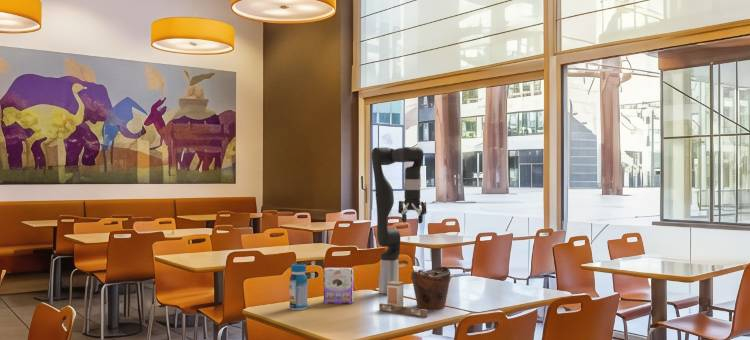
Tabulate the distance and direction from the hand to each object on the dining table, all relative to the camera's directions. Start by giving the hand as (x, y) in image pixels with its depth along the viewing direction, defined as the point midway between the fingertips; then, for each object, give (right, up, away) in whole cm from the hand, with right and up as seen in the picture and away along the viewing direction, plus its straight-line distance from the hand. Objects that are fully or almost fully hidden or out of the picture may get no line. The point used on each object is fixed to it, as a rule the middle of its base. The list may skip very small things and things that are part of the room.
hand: (412, 222), depth 308 cm
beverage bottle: (-53, -38, -14) cm, 66 cm away
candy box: (-35, -38, -1) cm, 52 cm away
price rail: (-5, -38, -25) cm, 45 cm away
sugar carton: (-8, -38, -15) cm, 41 cm away
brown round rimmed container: (+8, -38, -9) cm, 40 cm away
